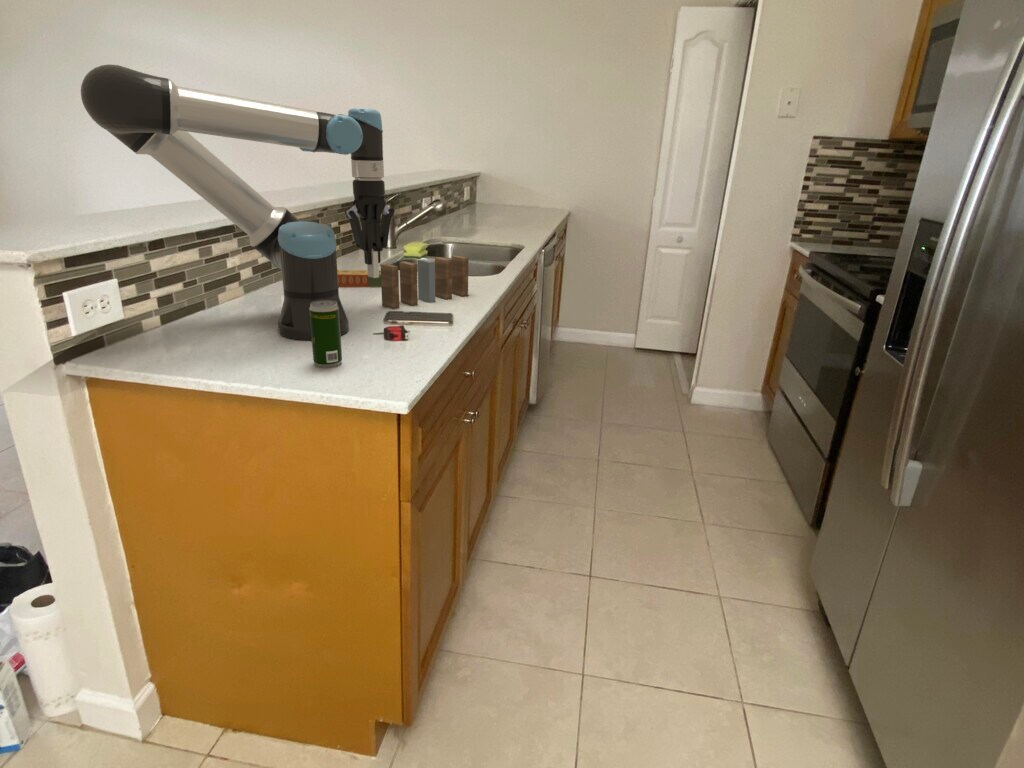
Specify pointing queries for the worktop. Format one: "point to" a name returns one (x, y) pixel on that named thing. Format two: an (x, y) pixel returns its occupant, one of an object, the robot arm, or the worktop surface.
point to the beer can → (325, 333)
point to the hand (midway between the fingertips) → (373, 276)
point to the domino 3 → (426, 280)
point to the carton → (357, 279)
